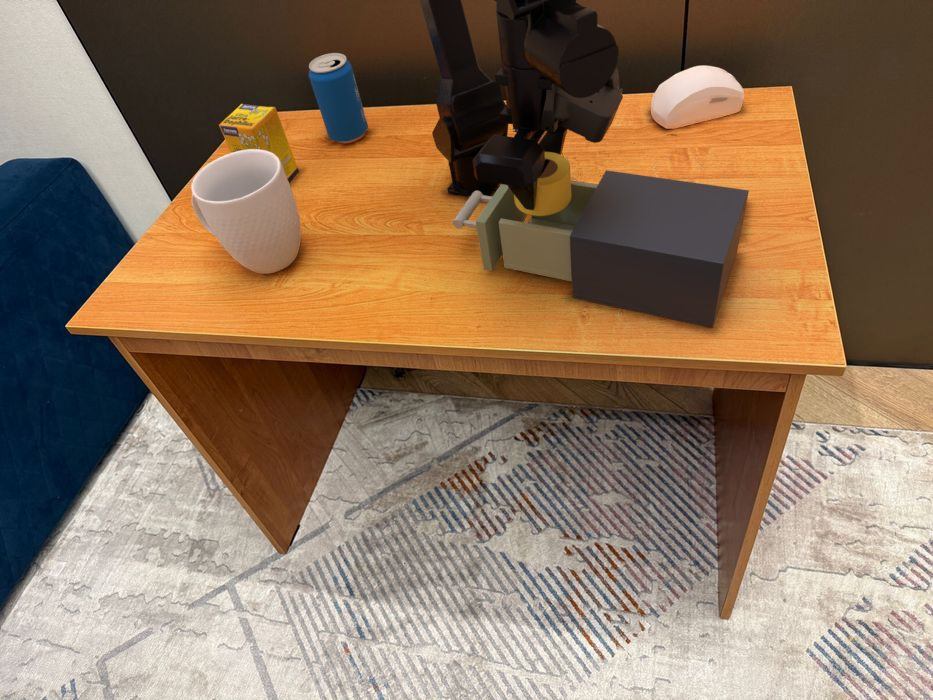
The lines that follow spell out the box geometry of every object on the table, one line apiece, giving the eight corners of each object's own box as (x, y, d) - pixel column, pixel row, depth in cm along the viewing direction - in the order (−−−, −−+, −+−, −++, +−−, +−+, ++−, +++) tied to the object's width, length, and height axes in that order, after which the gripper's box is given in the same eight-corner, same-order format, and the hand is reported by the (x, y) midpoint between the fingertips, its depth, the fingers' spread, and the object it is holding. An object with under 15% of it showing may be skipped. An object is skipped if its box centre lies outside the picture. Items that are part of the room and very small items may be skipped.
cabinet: (572, 297, 79) (569, 235, 73) (605, 232, 86) (605, 169, 79) (712, 328, 73) (723, 263, 67) (736, 255, 80) (749, 190, 73)
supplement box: (246, 190, 104) (217, 125, 96) (268, 167, 108) (241, 102, 100) (279, 195, 102) (251, 128, 94) (300, 171, 106) (275, 105, 98)
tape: (505, 211, 78) (501, 180, 75) (527, 178, 81) (524, 148, 79) (559, 220, 75) (557, 189, 73) (579, 186, 79) (578, 155, 76)
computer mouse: (747, 111, 99) (755, 69, 94) (660, 133, 99) (663, 91, 94) (727, 90, 103) (732, 49, 99) (643, 111, 103) (645, 71, 98)
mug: (194, 274, 92) (146, 193, 83) (239, 223, 99) (200, 142, 89) (286, 292, 87) (247, 207, 78) (329, 236, 94) (297, 152, 84)
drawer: (448, 262, 85) (438, 214, 80) (485, 209, 91) (478, 161, 86) (600, 294, 78) (599, 243, 72) (628, 234, 84) (630, 183, 79)
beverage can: (366, 143, 108) (346, 69, 99) (326, 148, 109) (302, 75, 100) (371, 121, 113) (351, 49, 104) (332, 126, 113) (309, 54, 104)
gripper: (578, 115, 58) (582, 257, 69) (642, 16, 68) (636, 153, 80) (460, 102, 62) (481, 237, 74) (537, 10, 73) (545, 142, 84)
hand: (541, 190), depth 78 cm, fingers closed on tape, 6 cm apart
